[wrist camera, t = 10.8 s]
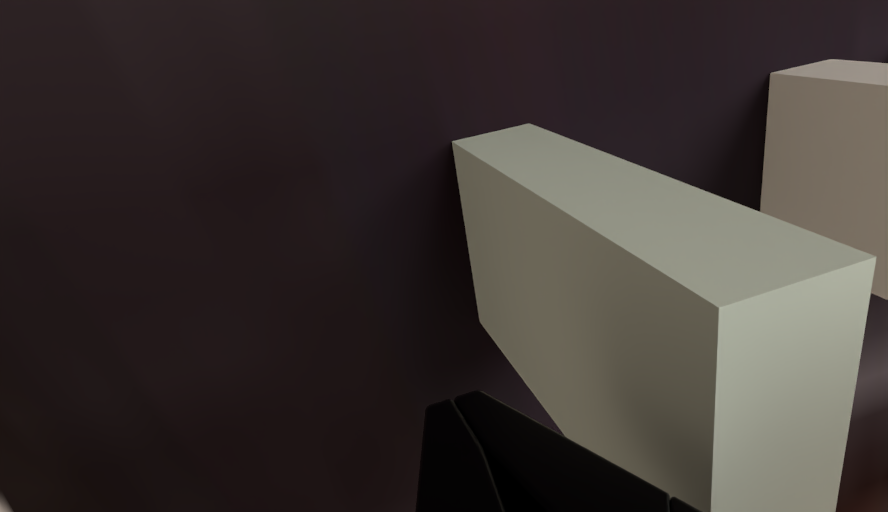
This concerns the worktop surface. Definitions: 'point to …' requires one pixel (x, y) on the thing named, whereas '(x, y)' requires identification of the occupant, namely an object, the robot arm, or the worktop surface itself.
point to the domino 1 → (667, 320)
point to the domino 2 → (831, 155)
